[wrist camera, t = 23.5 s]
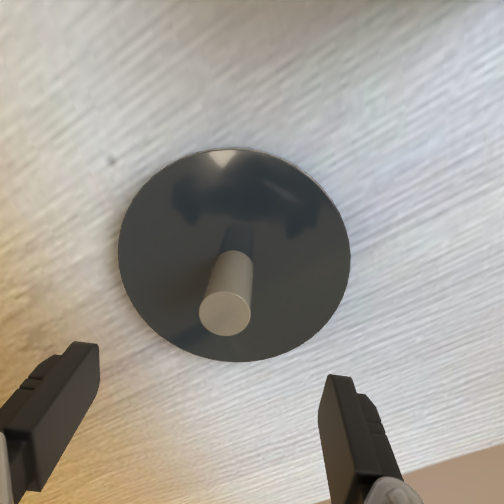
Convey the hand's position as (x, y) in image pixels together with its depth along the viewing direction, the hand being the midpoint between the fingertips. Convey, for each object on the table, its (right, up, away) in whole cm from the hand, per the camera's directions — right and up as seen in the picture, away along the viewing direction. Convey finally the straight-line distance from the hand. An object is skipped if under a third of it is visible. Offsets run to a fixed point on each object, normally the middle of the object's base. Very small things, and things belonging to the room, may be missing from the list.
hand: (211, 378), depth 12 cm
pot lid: (0, +4, +9) cm, 10 cm away
